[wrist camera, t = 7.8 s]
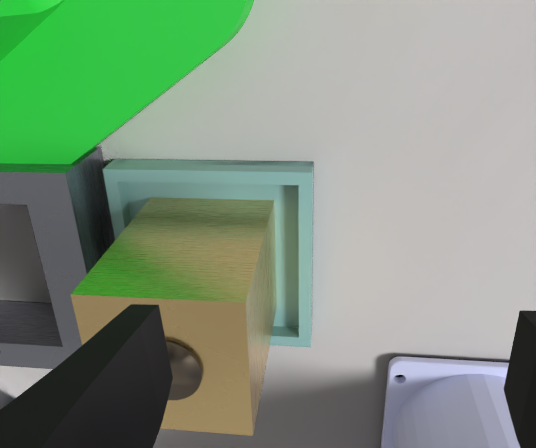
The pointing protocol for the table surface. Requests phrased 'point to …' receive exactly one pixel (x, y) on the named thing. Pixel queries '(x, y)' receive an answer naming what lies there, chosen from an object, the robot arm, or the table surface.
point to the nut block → (196, 302)
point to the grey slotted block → (55, 253)
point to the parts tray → (236, 187)
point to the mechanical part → (96, 66)
